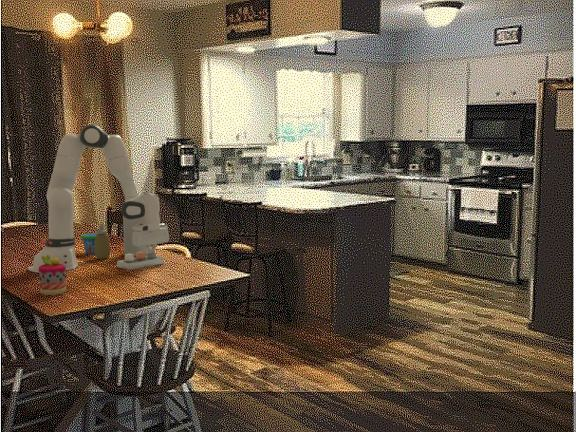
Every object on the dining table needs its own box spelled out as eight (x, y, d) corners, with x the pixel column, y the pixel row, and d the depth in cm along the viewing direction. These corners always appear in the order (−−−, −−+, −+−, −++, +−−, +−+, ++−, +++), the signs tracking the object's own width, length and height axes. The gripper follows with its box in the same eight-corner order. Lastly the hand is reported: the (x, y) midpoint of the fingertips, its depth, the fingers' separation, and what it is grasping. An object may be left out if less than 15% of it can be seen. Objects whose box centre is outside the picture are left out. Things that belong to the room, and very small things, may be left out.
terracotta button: (139, 259, 305) (139, 253, 304) (134, 258, 308) (133, 252, 307) (147, 258, 308) (146, 252, 308) (141, 257, 311) (141, 251, 311)
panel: (129, 270, 297) (129, 263, 297) (117, 267, 304) (117, 260, 303) (163, 263, 313) (163, 257, 312) (150, 260, 319) (150, 255, 319)
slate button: (150, 260, 310) (150, 254, 310) (145, 259, 313) (144, 253, 312) (157, 259, 313) (157, 253, 313) (152, 258, 316) (152, 252, 316)
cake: (70, 289, 260) (69, 253, 258) (62, 295, 250) (60, 258, 248) (44, 289, 260) (43, 253, 258) (35, 295, 249) (33, 258, 247)
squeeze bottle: (106, 260, 320) (105, 224, 318) (91, 259, 322) (90, 224, 320) (113, 257, 328) (112, 222, 326) (99, 256, 330) (98, 222, 328)
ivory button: (128, 261, 300) (128, 255, 299) (122, 260, 303) (122, 254, 302) (136, 260, 303) (135, 254, 303) (130, 259, 306) (130, 253, 306)
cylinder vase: (134, 257, 328) (133, 209, 324) (119, 254, 335) (117, 207, 332) (153, 254, 338) (152, 207, 334) (137, 251, 345) (136, 205, 342)
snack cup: (77, 252, 340) (76, 233, 339) (96, 250, 347) (95, 231, 346) (88, 256, 328) (88, 237, 327) (108, 254, 335) (107, 235, 334)
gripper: (163, 222, 321) (163, 249, 323) (129, 227, 305) (130, 255, 307) (171, 223, 317) (172, 251, 319) (138, 228, 301) (138, 256, 303)
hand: (151, 253), depth 313 cm, fingers closed, pressing on slate button
